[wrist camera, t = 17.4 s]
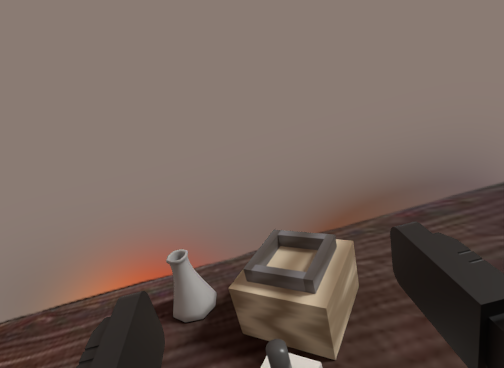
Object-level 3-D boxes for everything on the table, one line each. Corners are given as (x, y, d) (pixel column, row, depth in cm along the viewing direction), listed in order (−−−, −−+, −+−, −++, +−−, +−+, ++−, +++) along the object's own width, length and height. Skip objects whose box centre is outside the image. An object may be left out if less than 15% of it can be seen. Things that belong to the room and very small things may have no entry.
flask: (186, 289, 56) (168, 242, 53) (223, 290, 54) (207, 240, 50) (165, 322, 50) (143, 271, 46) (207, 325, 48) (187, 271, 44)
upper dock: (242, 333, 44) (224, 276, 41) (280, 273, 55) (268, 222, 51) (335, 360, 38) (323, 294, 34) (358, 285, 48) (351, 228, 44)
